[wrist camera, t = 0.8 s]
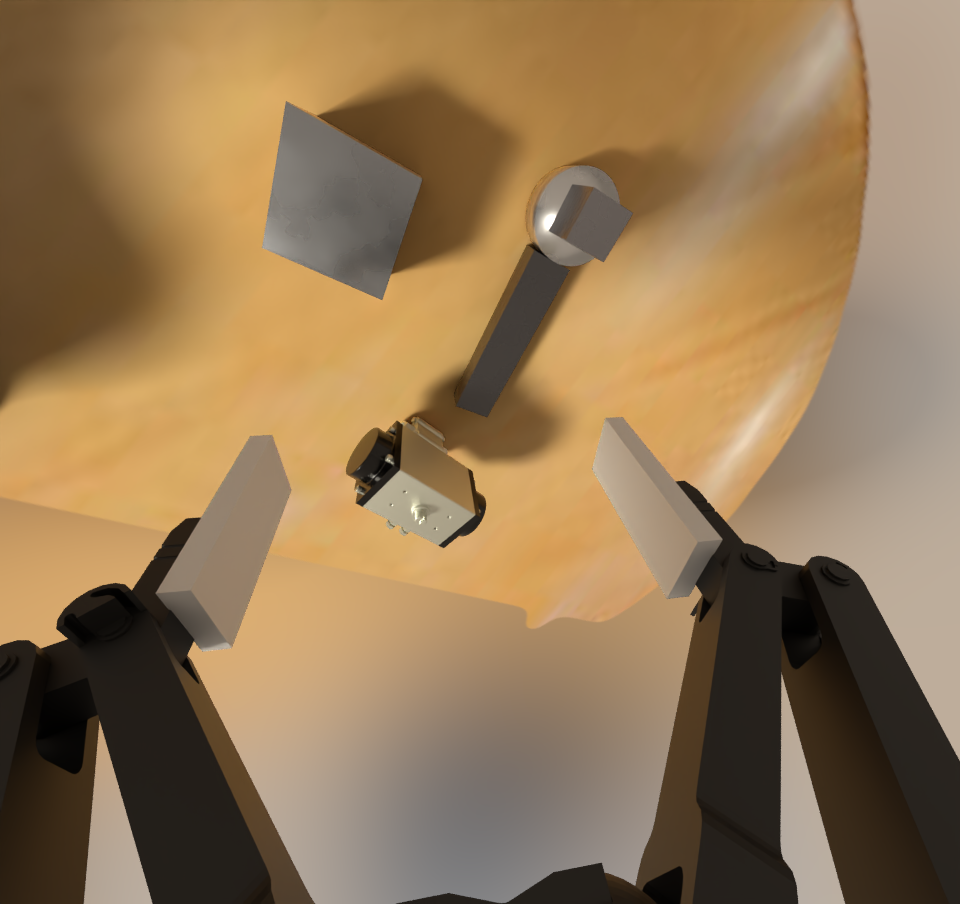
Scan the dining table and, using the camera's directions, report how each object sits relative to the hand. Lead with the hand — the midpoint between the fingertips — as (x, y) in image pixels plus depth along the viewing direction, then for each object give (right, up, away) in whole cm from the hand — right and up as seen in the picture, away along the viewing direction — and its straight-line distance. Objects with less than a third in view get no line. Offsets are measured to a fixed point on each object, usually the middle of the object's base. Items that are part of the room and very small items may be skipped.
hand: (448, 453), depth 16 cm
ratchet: (+5, +13, +17) cm, 22 cm away
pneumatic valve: (-5, +2, +24) cm, 24 cm away
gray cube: (-7, +18, +11) cm, 22 cm away
